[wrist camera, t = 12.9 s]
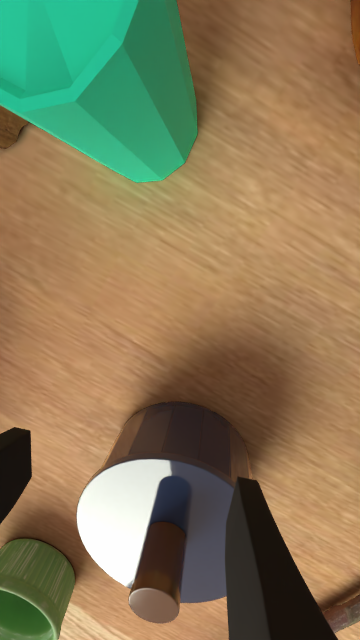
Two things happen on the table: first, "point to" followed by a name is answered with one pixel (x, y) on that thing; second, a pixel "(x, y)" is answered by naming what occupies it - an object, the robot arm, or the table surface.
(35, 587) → the ramekin
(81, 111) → the candle
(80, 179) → the table surface
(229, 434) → the pot
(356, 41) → the croissant
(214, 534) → the lid
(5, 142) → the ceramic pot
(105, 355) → the table surface
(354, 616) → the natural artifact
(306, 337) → the table surface
